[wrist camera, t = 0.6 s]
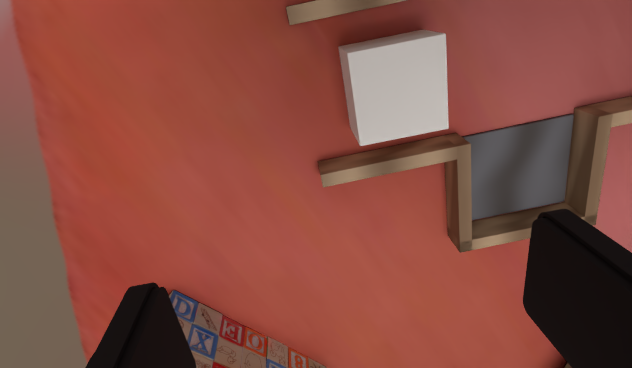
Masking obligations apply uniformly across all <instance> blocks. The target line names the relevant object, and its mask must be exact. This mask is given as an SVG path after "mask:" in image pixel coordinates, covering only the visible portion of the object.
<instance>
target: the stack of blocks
mask: <svg viewBox="0 0 632 368" xmlns="http://www.w3.org/2000/svg"><path fill="white" fill-rule="evenodd" d="M169 298H170V300H171V303H172V305H173V308H174V310H175V312H176V315H177V317H178V320H179V322H180V325H181V327H182V330H183V332H184V335H185V337H186V340H187V342H188V344H189V347H190V349H191V352H192V354H193V357H194V359H195V362H196V368H326V367H325V366H323V365H321V364H319V363H317V362H315V361H313V360H312V359H310V358H308V357H307V356H305V355H303V354H301V353H299V352H297V351H295V350H293V349H291V348H289V347H287V346H286V345H284V344H282V343H280V342H278V341H276V340H274V339H272V338H270V337H266V336H264V335H262V334H260V333H258V332H256V331H254V330H252V329H250V328H248V327H245V326H243V325H241V324H239V323H238V322H236V321H234V320H231V319H230V318H227V317H226V316H223V315H222V314H221V313H219V312H217V311H215V310H213V309H211V308H209V307H207V306H205V305H203V304H201V303H198V302H197V301H195V300H193V299H191V298H189V297H187V296H185V295H183V294H181V293H179V292H177V291H175V290H173V291H172V292H171V294H170V295H169Z"/></svg>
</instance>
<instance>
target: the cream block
mask: <svg viewBox="0 0 632 368" xmlns="http://www.w3.org/2000/svg"><path fill="white" fill-rule="evenodd" d="M338 48H339V54H340V61H341V68H342V75H343V82H344V88H345V95H346V102H347V109H348V116H349V122H350V128H351V130H352V132H353V134H354V136H355V137H356V139H357V141H358V143H359V145H360V146H364V145H369V144H374V143H379V142H384V141H389V140H394V139H399V138H404V137H409V136H414V135H419V134H424V133H429V132H434V131H439V130H444V129H449V127H448V92H447V57H446V34H445V33H440V32H434V31H429V30H418V31H413V32H408V33H403V34H398V35H393V36H388V37H383V38H378V39H373V40H368V41H363V42H358V43H353V44H348V45H343V46H338Z"/></svg>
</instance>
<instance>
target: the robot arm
mask: <svg viewBox="0 0 632 368" xmlns="http://www.w3.org/2000/svg"><path fill="white" fill-rule="evenodd" d="M523 304H524V308H525V310H526V312H527V314H528V315H529V316H530V318H531V319H532V320H533V321H534V322H535V324H536V325H537V326H538V327H539V328H540V330H541V331H542V332H543V333H544V334H545V336H546V337H547V338H548V339H549V341H550V342H551V343H552V344H553V345H554V347H555V348H556V349H557V350H558V351H559V353H560V354H561V355H562V356H563V357H564V359H565V360H566V361H567V362H568V364H569V365H570V366H571V367H572V368H632V253H631V252H630V251H628V250H627V249H625V248H624V247H622V246H621V245H619V244H618V243H617V242H615V241H614V240H612V239H611V238H609V237H608V236H606V235H605V234H603V233H602V232H601V231H599V230H598V229H596V228H595V227H593V226H592V225H590V224H589V223H587V222H586V221H585V220H583V219H582V218H580V217H579V216H577V215H576V214H574V213H573V212H571V211H570V210H568V209H558V210H553V211H547V212H542V213H540V214H539V216H538V218H537V219H536V220H534V221H533V223H532V229H531V237H530V245H529V254H528V262H527V270H526V278H525V287H524V295H523ZM86 368H196V362H195V359H194V357H193V354H192V352H191V349H190V347H189V344H188V342H187V340H186V337H185V335H184V332H183V330H182V327H181V325H180V322H179V320H178V317H177V315H176V312H175V310H174V308H173V305H172V303H171V300H170V298H169V295H168V293H167V291H166V289H165V288H164V287H160V288H159V287H158V285H157V284H156V283H148V284H143V285H137V286H132V287H130V288H129V289H128V290H127V291H126V293H125V295H124V297H123V299H122V301H121V303H120V305H119V307H118V309H117V311H116V313H115V315H114V317H113V319H112V320H111V322H110V324H109V326H108V328H107V330H106V332H105V334H104V336H103V338H102V340H101V342H100V344H99V346H98V348H97V349H96V351H95V353H94V354H93V355H92V357H91V358H90V360H89V362H88V364H87V366H86Z"/></svg>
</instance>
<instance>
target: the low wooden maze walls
mask: <svg viewBox="0 0 632 368" xmlns="http://www.w3.org/2000/svg"><path fill="white" fill-rule="evenodd" d="M401 1H406V0H315V1H310V2H306V3H301V4H296V5H292V6H287V7H286V10H287V15H288V20H289V24H290V25H293V24H298V23H303V22H308V21H312V20H317V19H322V18H326V17H331V16H336V15H340V14H345V13H350V12H354V11H359V10H364V9H368V8H373V7H378V6H382V5H387V4H392V3H397V2H401ZM629 123H632V96H630V97H625V98H620V99H615V100H611V101H606V102H601V103H596V104H591V105H587V106H582V107H577V108H574V114H568V115H563V116H559V117H554V118H549V119H544V120H539V121H535V122H530V123H525V124H520V125H516V126H511V127H506V128H501V129H496V130H492V131H487V132H482V133H477V134H473V135H468V136H463V137H461V136H460V135H459V134H457V133H453V134H448V135H443V136H439V137H434V138H429V139H424V140H419V141H415V142H410V143H405V144H400V145H396V146H391V147H386V148H381V149H376V150H372V151H367V152H362V153H357V154H353V155H348V156H343V157H338V158H333V159H329V160H324V161H319V162H318V166H319V170H320V175H321V180H322V184H323V187H327V186H332V185H337V184H342V183H346V182H351V181H356V180H361V179H366V178H370V177H375V176H380V175H385V174H390V173H394V172H399V171H404V170H409V169H414V168H418V167H423V166H428V165H433V164H438V163H442V162H445V181H446V202H447V224H448V236H449V238H450V239H451V241H452V242H453V243H454V245H455V246H456V248H457V249H458V250H459V252H465V251H470V250H475V249H480V248H484V247H489V246H494V245H499V244H504V243H509V242H514V241H519V240H523V239H528V238H530V237H531V229H532V223H533V221H534V220H536V219H537V218H538V216H539V214H540V213H542V212H547V211H553V210H558V209H568V210H570V211H571V212H573V213H574V214H576V215H577V216H579V217H580V218H582V219H583V220H585V221H586V222H587V223H589V224H590V225H596V219H597V212H598V206H599V200H600V193H601V187H602V181H603V174H604V168H605V161H606V155H607V149H608V142H609V136H610V129H611V127H615V126H620V125H625V124H629ZM563 201H564V202H563ZM558 202H562V203H558ZM554 203H557V204H554ZM549 204H552V205H549ZM544 205H547V206H544ZM539 206H542V207H539ZM534 207H538V208H534ZM529 208H533V209H529ZM525 209H528V210H525ZM520 210H523V211H520ZM515 211H518V212H515ZM510 212H513V213H510ZM505 213H509V214H505ZM500 214H504V215H500ZM496 215H499V216H496ZM491 216H494V217H491ZM486 217H489V218H486ZM481 218H484V219H481ZM476 219H479V220H476ZM472 220H475V221H472Z"/></svg>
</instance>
